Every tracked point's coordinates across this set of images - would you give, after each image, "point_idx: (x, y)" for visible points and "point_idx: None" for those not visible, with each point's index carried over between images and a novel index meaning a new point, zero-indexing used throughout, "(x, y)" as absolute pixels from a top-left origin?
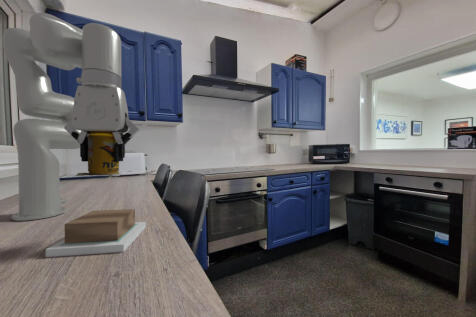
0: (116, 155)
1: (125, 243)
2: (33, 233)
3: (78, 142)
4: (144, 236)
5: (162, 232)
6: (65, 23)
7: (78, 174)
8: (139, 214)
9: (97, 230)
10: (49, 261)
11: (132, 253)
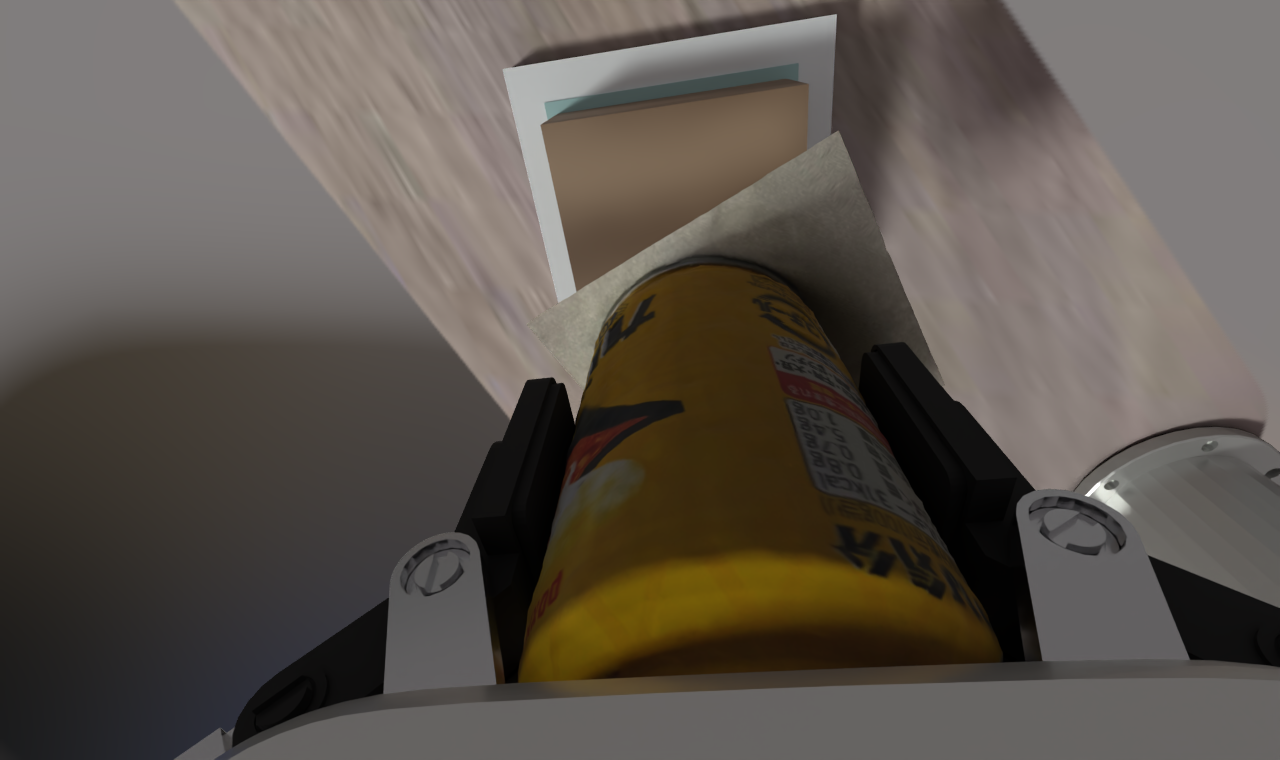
0: (520, 409)
1: (509, 92)
2: (1054, 283)
3: (1084, 504)
4: (519, 237)
5: (463, 280)
6: None
7: (895, 306)
8: None
9: (642, 105)
10: None
11: (463, 52)
